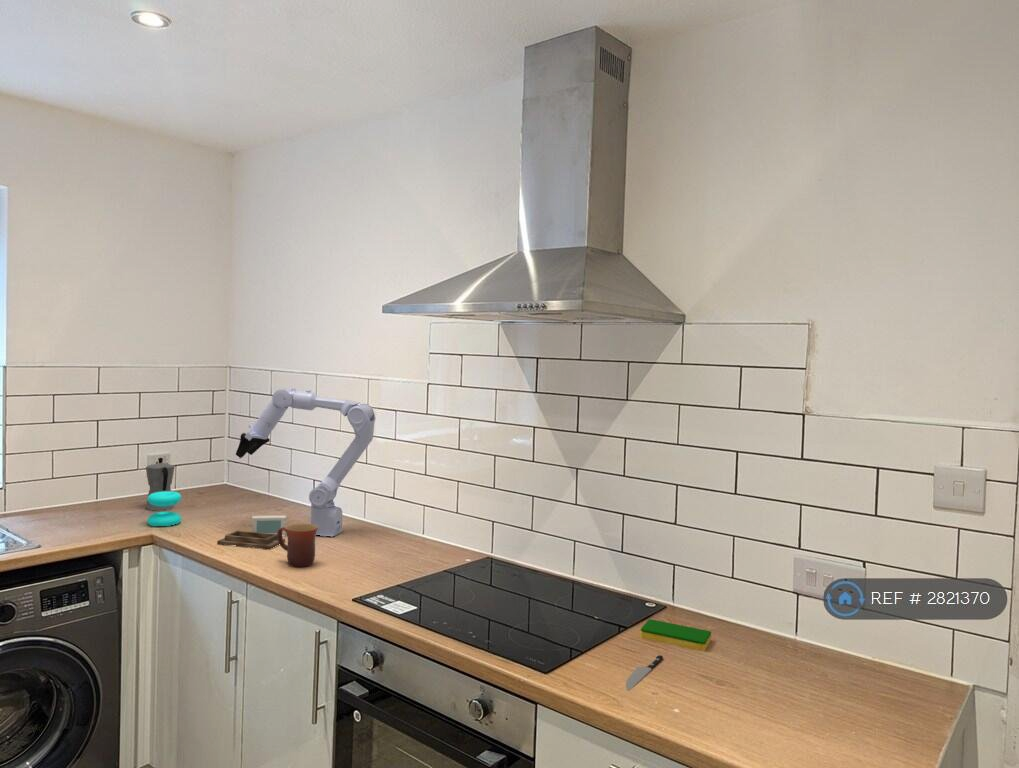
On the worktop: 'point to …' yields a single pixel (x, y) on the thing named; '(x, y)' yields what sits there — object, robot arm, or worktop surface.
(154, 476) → the coffeepot
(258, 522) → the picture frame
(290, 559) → the mug
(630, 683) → the chef's knife
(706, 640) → the dish sponge
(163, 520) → the donuts
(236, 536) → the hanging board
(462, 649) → the worktop surface
